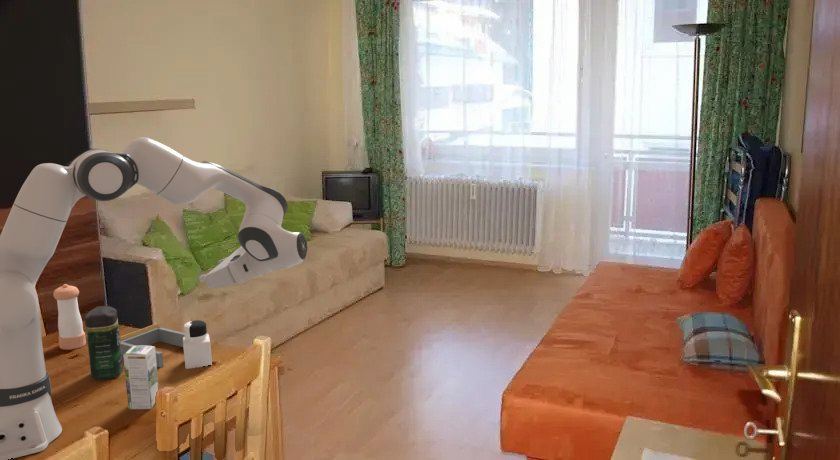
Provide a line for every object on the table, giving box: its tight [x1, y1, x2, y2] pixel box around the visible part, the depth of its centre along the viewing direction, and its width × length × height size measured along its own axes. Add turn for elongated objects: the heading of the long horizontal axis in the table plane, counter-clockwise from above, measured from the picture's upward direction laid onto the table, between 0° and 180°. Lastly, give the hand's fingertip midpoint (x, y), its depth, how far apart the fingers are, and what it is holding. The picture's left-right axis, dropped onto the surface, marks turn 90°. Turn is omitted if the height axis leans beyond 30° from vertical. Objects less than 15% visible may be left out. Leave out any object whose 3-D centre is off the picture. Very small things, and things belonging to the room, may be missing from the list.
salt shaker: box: [52, 283, 87, 351], centre depth 222 cm, size 7×7×19 cm
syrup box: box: [122, 345, 160, 410], centre depth 182 cm, size 6×6×14 cm
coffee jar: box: [84, 305, 124, 381], centre depth 200 cm, size 10×8×19 cm
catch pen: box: [120, 322, 185, 368], centre depth 216 cm, size 15×18×5 cm
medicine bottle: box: [182, 319, 213, 370], centre depth 207 cm, size 7×7×12 cm
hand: (210, 271), depth 200 cm, fingers open, 8 cm apart
